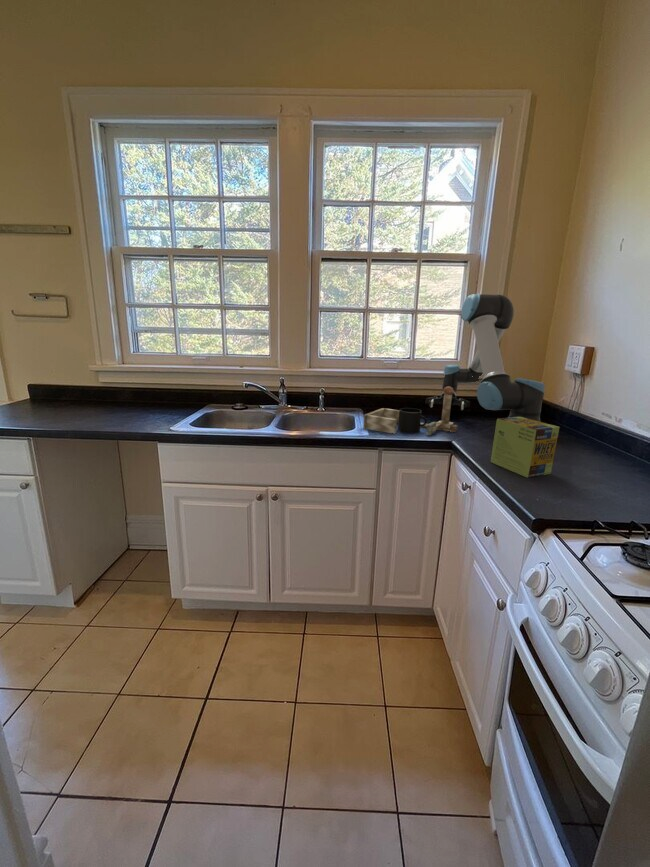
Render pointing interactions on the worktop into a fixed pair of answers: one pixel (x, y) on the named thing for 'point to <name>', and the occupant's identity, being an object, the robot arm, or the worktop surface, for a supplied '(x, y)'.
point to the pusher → (443, 413)
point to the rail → (453, 428)
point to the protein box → (524, 446)
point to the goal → (382, 420)
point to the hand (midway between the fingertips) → (446, 405)
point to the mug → (410, 420)
